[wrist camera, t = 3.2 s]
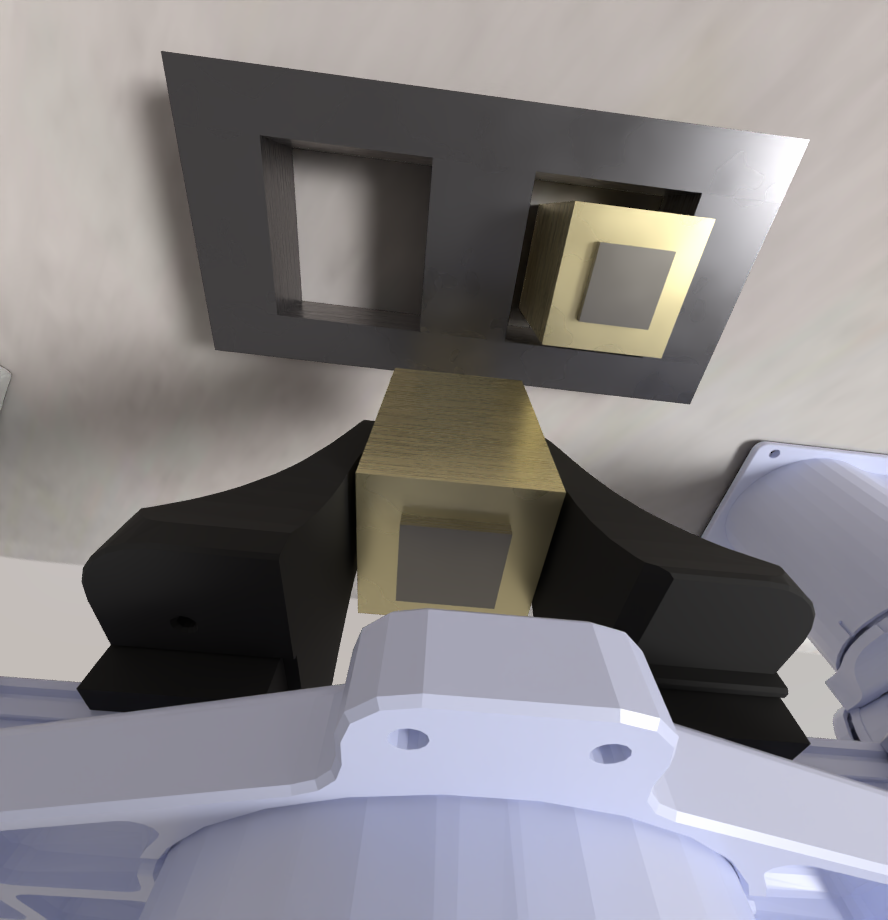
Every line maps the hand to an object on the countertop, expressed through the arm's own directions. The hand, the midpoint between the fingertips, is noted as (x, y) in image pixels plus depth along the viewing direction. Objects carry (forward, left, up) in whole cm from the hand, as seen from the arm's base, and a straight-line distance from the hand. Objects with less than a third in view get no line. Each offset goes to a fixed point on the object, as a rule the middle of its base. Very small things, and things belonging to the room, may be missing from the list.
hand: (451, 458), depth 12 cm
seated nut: (-5, -5, -9) cm, 11 cm away
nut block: (0, 0, -2) cm, 2 cm away
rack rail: (0, -5, -9) cm, 10 cm away
